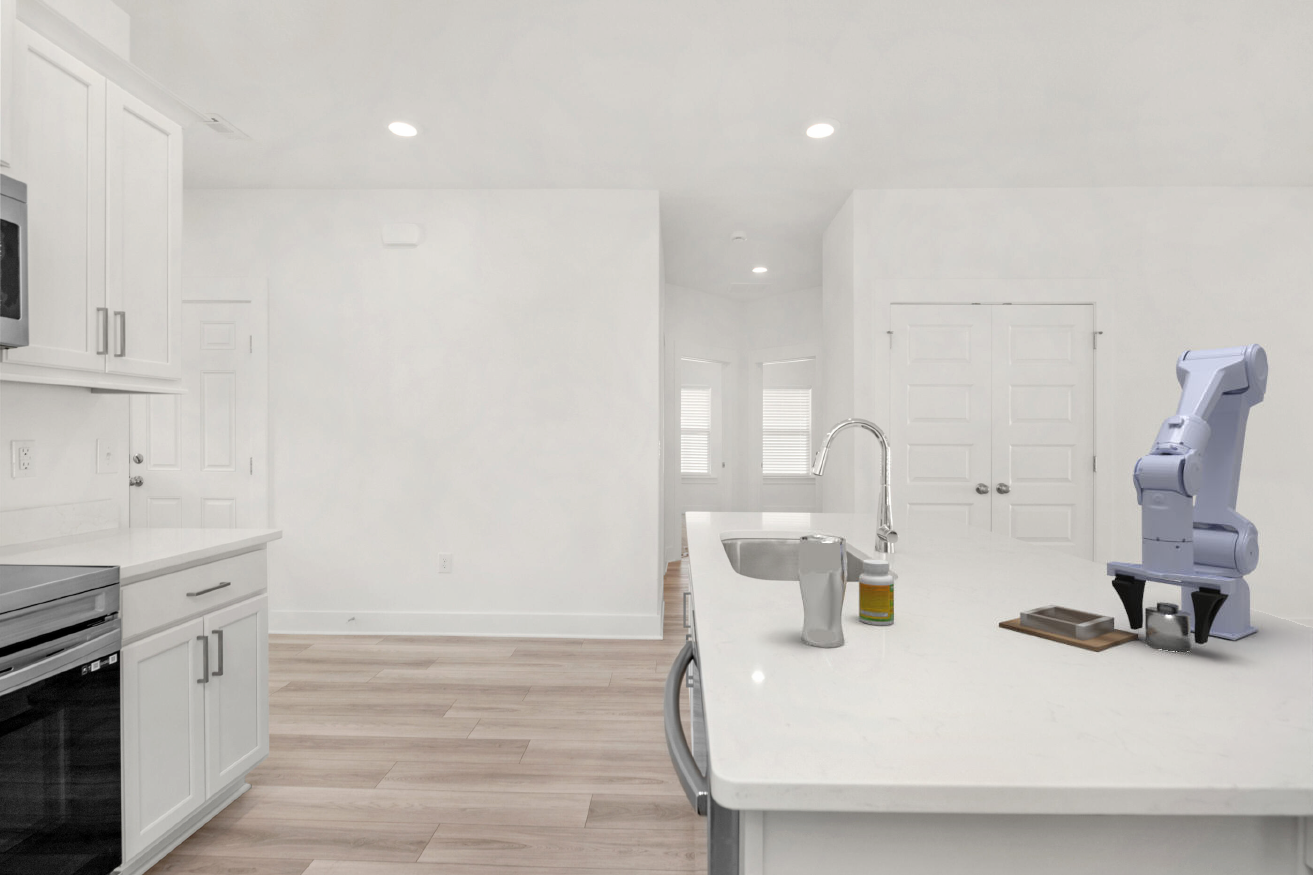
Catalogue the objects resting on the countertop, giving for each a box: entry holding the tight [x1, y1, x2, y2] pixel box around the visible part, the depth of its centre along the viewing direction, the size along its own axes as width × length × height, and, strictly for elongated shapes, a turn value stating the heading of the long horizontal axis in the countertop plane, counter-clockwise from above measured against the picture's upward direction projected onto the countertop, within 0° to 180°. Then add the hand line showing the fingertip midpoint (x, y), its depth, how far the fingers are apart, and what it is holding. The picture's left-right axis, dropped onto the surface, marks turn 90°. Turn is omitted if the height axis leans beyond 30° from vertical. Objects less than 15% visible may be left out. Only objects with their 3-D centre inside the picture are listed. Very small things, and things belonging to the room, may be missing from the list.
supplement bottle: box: [858, 558, 895, 626], centre depth 104 cm, size 5×5×10 cm
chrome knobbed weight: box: [1144, 601, 1192, 653], centre depth 91 cm, size 5×5×6 cm
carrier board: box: [998, 604, 1139, 652], centre depth 97 cm, size 12×14×3 cm
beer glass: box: [797, 534, 848, 648], centre depth 93 cm, size 7×7×15 cm
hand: (1167, 635), depth 91 cm, fingers open, 7 cm apart
